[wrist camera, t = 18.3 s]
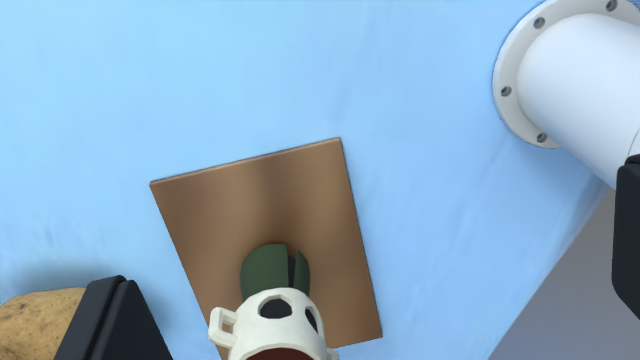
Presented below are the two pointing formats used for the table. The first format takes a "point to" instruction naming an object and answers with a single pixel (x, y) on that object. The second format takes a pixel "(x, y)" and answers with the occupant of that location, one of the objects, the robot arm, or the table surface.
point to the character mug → (273, 311)
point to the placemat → (274, 232)
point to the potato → (36, 323)
